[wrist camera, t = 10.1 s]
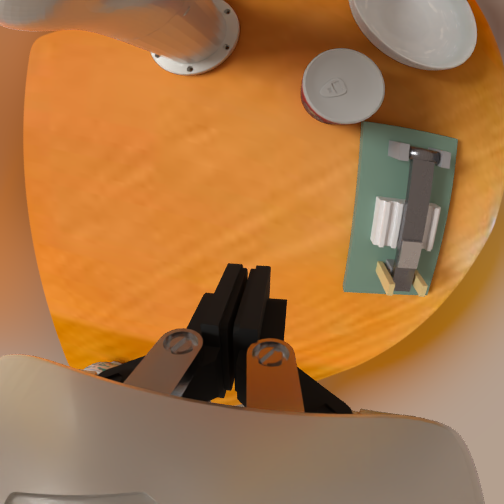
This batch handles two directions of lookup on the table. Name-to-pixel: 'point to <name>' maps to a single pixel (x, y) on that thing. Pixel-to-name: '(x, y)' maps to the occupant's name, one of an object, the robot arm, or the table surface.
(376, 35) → the cereal bowl
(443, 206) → the clamp board
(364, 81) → the canned food
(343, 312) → the table surface
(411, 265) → the grey hinged clamp lever
